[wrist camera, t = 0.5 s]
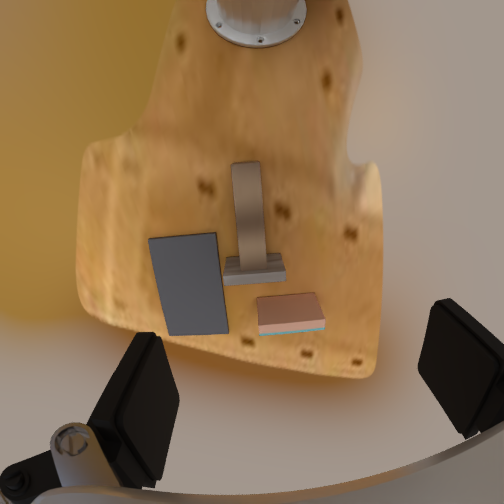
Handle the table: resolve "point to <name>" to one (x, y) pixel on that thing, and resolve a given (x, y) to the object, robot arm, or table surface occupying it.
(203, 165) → the table surface
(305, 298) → the tile
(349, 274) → the table surface
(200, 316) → the mat
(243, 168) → the scraper
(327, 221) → the table surface
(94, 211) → the table surface
